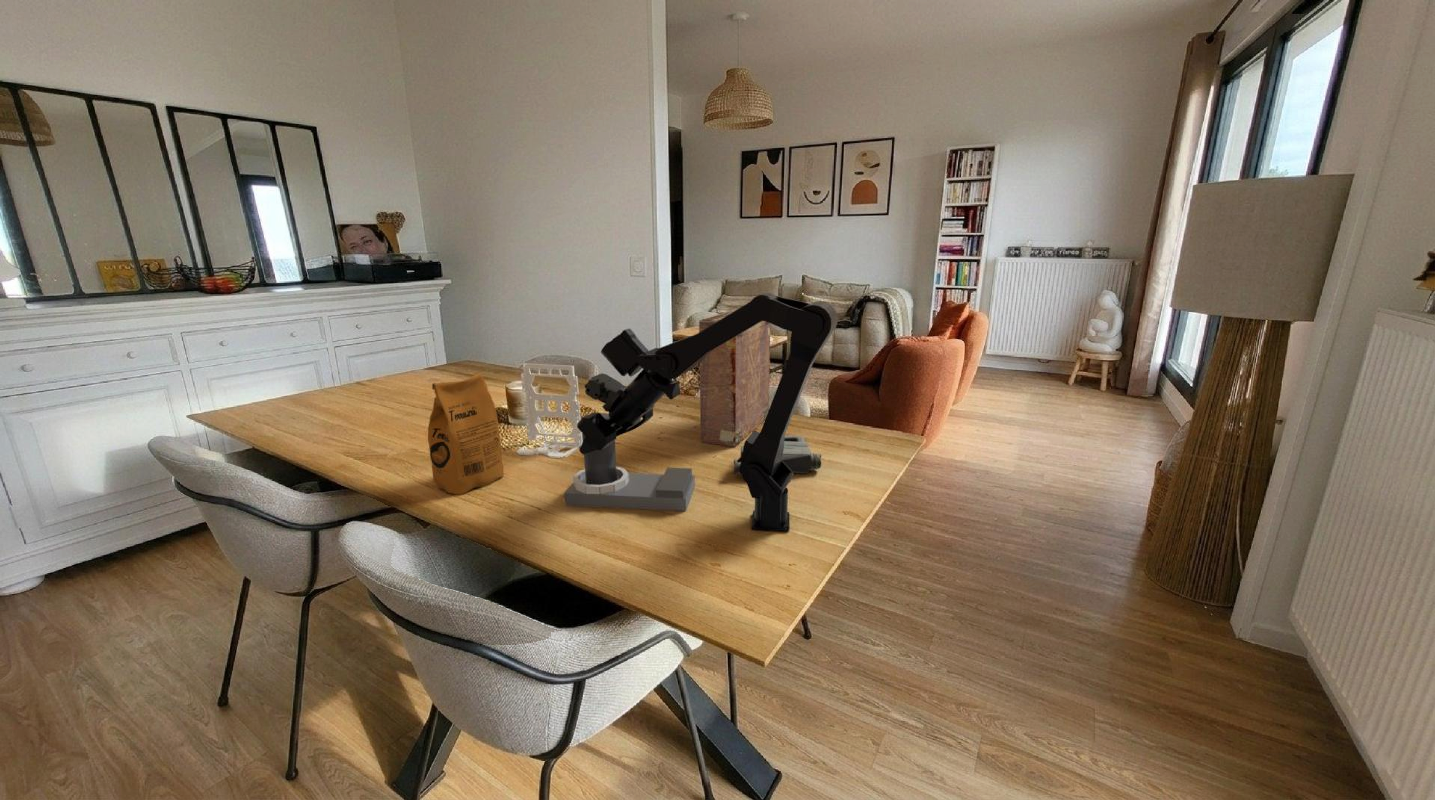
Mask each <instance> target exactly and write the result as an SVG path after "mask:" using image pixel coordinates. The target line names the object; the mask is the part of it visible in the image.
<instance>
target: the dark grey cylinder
mask: <svg viewBox="0 0 1435 800" xmlns="http://www.w3.org/2000/svg"><path fill="white" fill-rule="evenodd" d="M599 413H600V414H601V415H602V416H603V417H604V418H605V419H606V420H609V419H611V418H610V417H609V416H608V413H607V412H606V413H604V412H599ZM587 415H588V414H586V415H584V416H581V417H580V418H581V419H582V418H583V417H585V416H587ZM613 426H614V425H613ZM584 437H585V436H584V434H583V433H582V440H584ZM616 454H617V453H616V439H615V440H614V441H613V442H612V444H611V445H609V446H607V447H606V448H604V449H602V450H601V451H600V450H596V451H593V452H589V453H586V454H583V462H584V469H585V478H586V484H591V485H602V484H608V483H612V482H615V481H617V467H618V466H617V455H616Z"/></svg>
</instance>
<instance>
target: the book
mask: <svg viewBox="0 0 1435 800" xmlns="http://www.w3.org/2000/svg"><path fill="white" fill-rule="evenodd" d="M737 309H738V308H736V309H733V310H729V311H726V312H722V313H719V314H716V315H713V316H710V317H705V318H702V319H699V320H698V329H699V330H698V331H699V332H701V331H703V330H704V329H706V328H708V327H709V326H711V325H712V324H714V323H716V322H717V321H719V320H721V319H722V318H724V317H726V316H727V315H729V314H731V313H732V312H734V311H736V310H737ZM699 332H698V333H699ZM770 363H771V323H769V322H766V321H762V322H760V323H758V324H757V325H755V326H753V327H751V328H750V329H748V330H746V331H745V332H743V333H741V334H739V335H738V336H736V337H734V338H732V339H731V340H729V341H727V342H726V343H724V344H722V345H720V346H719V347H717V348H715V349H714V350H712V351H711V352H710V353H709V354H708V355H707V356H706V357H705V358H704V359H703V360H702V361H701V362H700V363H699V394H700V395H699V398H700V399H699V401H700V402H699V403H700V404H699V405H700V406H699V410H700V411H699V412H700V415H699V416H700V417H699V418H700V442H701V443H707V444H713V445H719V446H720V445H721V446H725V447H733V448H736V447H738V445H740V444H741V443H742V442H743V441H745V439H747V438H748V437H749V436H750V435H751V434H752V433H753V432H754V430H755V429H756V428H757V427H758V426H759V425H760V424H761V425H763V424H764V423H763V422H764V421H765V419H766V417H767V414H768V411H769V409H770V376H771V375H770V369H771V368H770V367H771V366H770V365H771V364H770ZM762 423H763V424H762ZM761 425H760V426H761ZM760 426H759V427H760ZM759 427H758V428H759ZM758 428H757V429H758ZM757 429H756V430H757ZM751 432H752V433H751ZM750 433H751V434H750ZM749 434H750V435H749ZM748 435H749V436H748ZM747 436H748V437H747ZM744 438H745V439H744ZM741 441H742V442H741ZM740 442H741V443H740Z"/></svg>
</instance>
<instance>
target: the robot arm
mask: <svg viewBox="0 0 1435 800" xmlns="http://www.w3.org/2000/svg"><path fill="white" fill-rule="evenodd" d="M736 309H737V310H736V311H734V312H732V313H731V314H729V315H727V316H726V317H724V318H722V319H721V320H719V321H717V322H716V323H714V324H712V325H711V326H709V327H708V328H706V329H704V330H703V331H701V332H698V333H695V334H692V335H689V336H687V337H684V338H682V339H679V340H677V341H676V340H675V341H674V342H672V343H669V344H666V345H664V346H661V347H655V348H652V349H650V350H649V349H648V348H647V347H646V346H645V345H644V344H643V343H642V342H641V340H640V339H639V338H638V337H637V335H636V334H635V332H634V331H633V330H632V329H631V328H627V329H623V330H622V332H620V333H619V334H618V335H616V336H615V337H613V338H612V339H611V340H610V341H608V342H607V343H606V344H605V345H604V346H603V347H602V349H601V350H600V354H602V356H603V357H604V358H605V359H606V360H607V361H608V362H609V363H610V365H611V366H612V367H613V368H614V369H615V370H616V372H618V373H619V374H620V376H621V377H625V376H627V375H628V376H629V377H630V378H631V377H634V376H635V375H636V376H635V377H634V379H633V380H632V381H631V382H630V383H629V384H628V385H627V386H625V385H623V383H622V382H620V381H618V380H617V379H615V378H613V377H611V376H610V375H608V374H606V373H599V374H597V375H593V376H592V377H590V379H588V382H587V383H585V384H584V388H585V392H584V393H585V395H586V396H588V397H590V398H591V399H593V400H595V401H597V400H598V401H599V402H600V403H604V404H603V405H602V407H601V408H603V410H604V411H605V412H606V413H607V412H608V413H607V414H608V416H609V417H610V418H611V419H609V420H606V419H605V418H604V417H603V416H602V415H601V414H600V413H601V412H591V413H590V414H586V415H587V416H585V415H584V416H585V417H583V416H582V417H583V418H582V417H581V418H582V419H581V420H580V421H578V423H577V428H578V429H579V430H580V431H581V432H582V433H583V434H584V436H585V437H584V440H583V442H582V445H581V447H580V448H578V450H579V453H580V454H582V455H584V454H586V453H589V452H593V451H596V450H600V451H601V450H602V449H604V448H606V447H607V446H609V445H611V444H612V442H613V441H614V440H615V441H616V439H617V437H619V436H621V435H624V434H626V433H629V432H631V431H635V429H638V428H640V426H643V425H644V424H645V423H647V422H648V421H649V420H651V418H652V417H653V416H654V408H655V404H657V402H658V401H659V400H661V398H662V397H663V396H667V398H668V399H669V400H673V399H675V398H677V397H678V396H680V395H681V389H680V381H679V380H675V379H677V378H679V377H681V376H683V375H684V374H686V373H688V372H690V371H691V370H694V368H696V366H697V365H699V364H700V362H701V361H702V360H703V359H704V358H705V357H706V356H707V355H708V354H709V353H710V352H711V351H712V350H714V349H715V348H717V347H719V346H720V345H722V344H724V343H726V342H727V341H729V340H731V339H732V338H734V337H736V336H738V335H739V334H741V333H743V332H745V331H746V330H748V329H750V328H751V327H753V326H755V325H757V324H758V323H760V322H762V321H766V322H769V323H770V325H773V326H776V327H778V328H780V329H781V330H784V331H789V332H791V334H790V340H789V341H790V342H789V354H788V359H787V360H786V361H787V362H786V364H785V367H784V369H783V372H782V374H781V377H780V380H779V383H778V385H777V388H776V390H775V392H774V396H773V399H772V400H771V403H770V405H769V411H768V414H767V417H766V419H765V422H764V423H763V424H762V428H761V431H760V432H759V431H757V429H756V430H755V431H753V432H752V433H751V434H750V435H749V436H748V437H746V439H745V440H744V443H743V446H744V447H743V446H742V447H743V452H742V455H741V454H740V457H739V458H738V459H736V460H737V462H741V464H740V466H739V473H738V474H740V477H741V478H742V480H743V481H744V482H745V483H746V485H747V488H748V491H749V493H750V496H751V498H752V499H754V509H753V510H752V519H751V525H750V526H751V527H750V529H751V530H754V531H769V532H771V531H774V532H775V531H776V532H789V531H790V528H791V527H790V522H791V521H790V511H788V505H789V504H788V503H789V500H788V499H789V489H788V488H787V486H788V485H789V484H790V482H791V480H792V478H793V476H794V473H793V471H792V470H791V469H790V468H789V467H788V466H787V465H786V464H785V463H784V461H783V460H782V455H783V450H784V438H785V435H786V432H787V430H788V428H789V424H791V423H790V422H791V420H792V417H793V415H794V412H795V410H796V408H797V405H798V403H799V399H801V398H800V397H801V394H802V392H803V389H804V388H805V385H806V382H807V380H808V377H809V375H810V372H811V369H812V368H813V365H814V362H815V360H816V359H817V357H818V356H819V354H820V353H821V351H822V350H823V349H824V347H825V346H826V344H827V342H828V340H829V339H830V337H831V335H832V334H833V333H834V331H835V330H836V328H837V325H838V321H839V316H838V313H837V311H836V308H835V307H834V306H833V305H832V304H830V303H828V302H827V301H822V300H819V301H814V302H811V303H810V302H806V301H802V300H797V299H792V298H788V297H781V296H779V295H775V294H773V293H770V292H765V293H762V294H759V295H757V296H754V297H753V298H752V299H751V300H750V301H749V302H747V303H746V304H743V305H742V306H741V307H739V308H736ZM637 373H639V374H637ZM641 418H642V419H641ZM613 425H614V426H613Z"/></svg>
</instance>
